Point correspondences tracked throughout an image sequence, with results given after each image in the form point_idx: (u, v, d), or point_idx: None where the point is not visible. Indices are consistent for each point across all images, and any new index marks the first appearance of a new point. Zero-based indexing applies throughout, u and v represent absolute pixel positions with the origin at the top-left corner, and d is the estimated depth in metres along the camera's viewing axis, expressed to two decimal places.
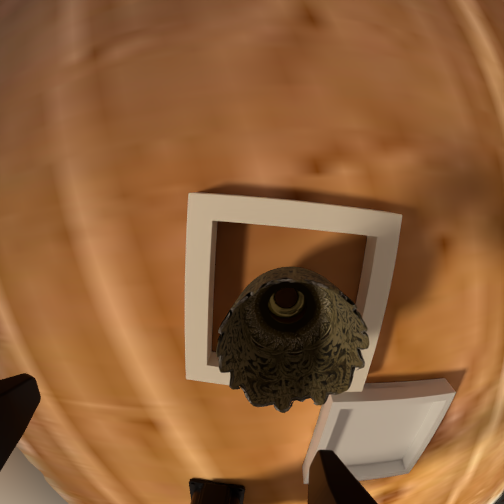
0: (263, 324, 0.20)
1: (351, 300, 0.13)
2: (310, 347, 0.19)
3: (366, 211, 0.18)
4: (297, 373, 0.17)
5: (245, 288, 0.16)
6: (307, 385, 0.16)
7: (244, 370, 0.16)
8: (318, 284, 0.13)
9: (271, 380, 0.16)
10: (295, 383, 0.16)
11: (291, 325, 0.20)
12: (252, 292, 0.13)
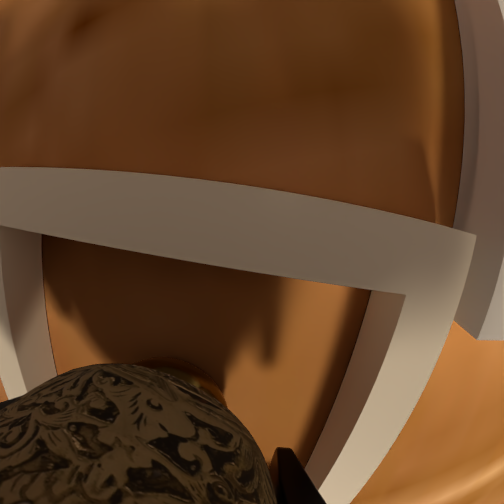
0: None
1: None
2: None
3: None
4: None
5: None
6: None
7: None
8: None
9: None
10: None
11: None
12: None
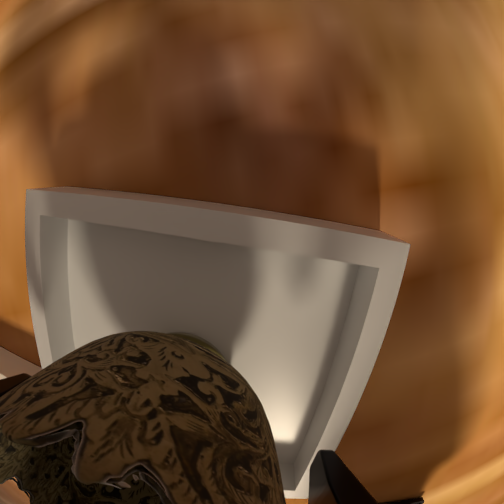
0: None
1: None
2: None
3: None
4: None
5: None
6: None
7: None
8: None
9: None
10: None
11: None
12: None
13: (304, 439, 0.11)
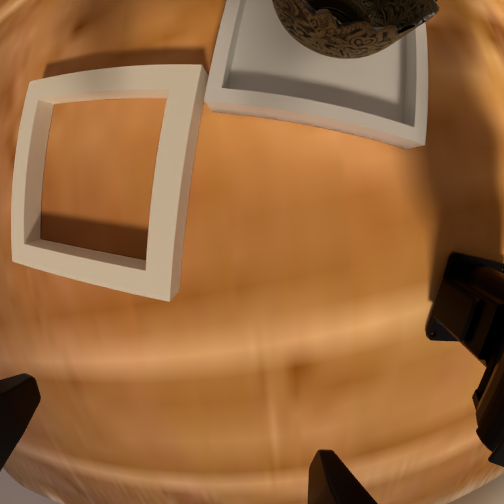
0: None
1: None
2: (376, 1, 0.11)
3: (23, 113, 0.15)
4: (402, 0, 0.09)
5: (292, 26, 0.10)
6: None
7: (400, 32, 0.09)
8: None
9: (412, 16, 0.09)
10: None
11: None
12: None
13: (404, 100, 0.15)
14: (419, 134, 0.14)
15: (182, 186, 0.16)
